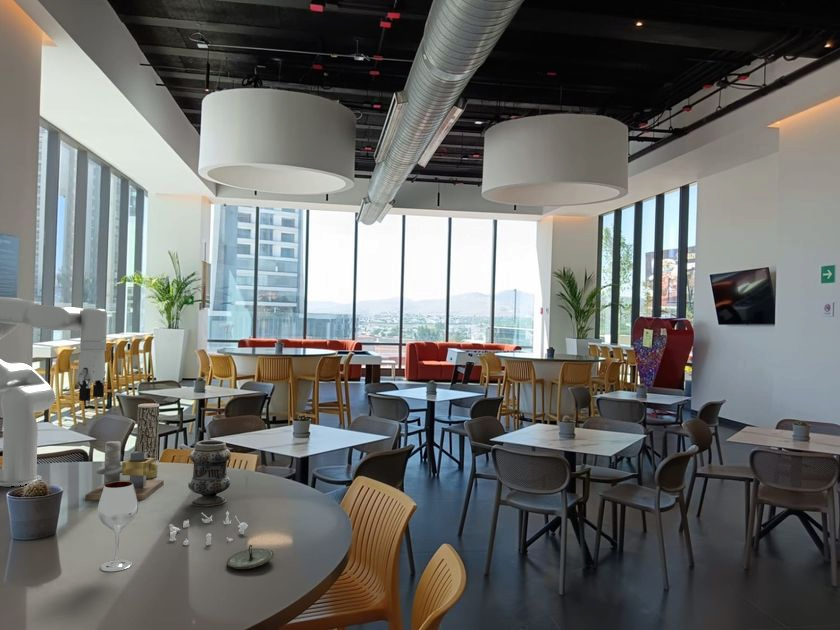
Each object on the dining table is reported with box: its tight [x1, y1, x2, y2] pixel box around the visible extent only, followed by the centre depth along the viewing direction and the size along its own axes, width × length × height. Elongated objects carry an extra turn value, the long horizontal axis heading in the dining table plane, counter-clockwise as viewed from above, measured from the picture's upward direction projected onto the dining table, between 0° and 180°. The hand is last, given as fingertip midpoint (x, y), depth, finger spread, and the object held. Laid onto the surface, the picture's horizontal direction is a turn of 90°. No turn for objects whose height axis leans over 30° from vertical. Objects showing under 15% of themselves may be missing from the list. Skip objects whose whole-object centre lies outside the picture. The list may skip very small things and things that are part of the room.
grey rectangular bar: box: [129, 450, 147, 489], centre depth 200 cm, size 4×3×11 cm
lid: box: [226, 544, 275, 570], centre depth 143 cm, size 11×10×5 cm
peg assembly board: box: [84, 440, 165, 501], centre depth 200 cm, size 18×18×16 cm
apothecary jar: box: [187, 439, 232, 508], centre depth 191 cm, size 12×12×18 cm
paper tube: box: [136, 402, 160, 480], centre depth 219 cm, size 7×7×25 cm
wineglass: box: [96, 481, 139, 573], centre depth 140 cm, size 8×8×18 cm
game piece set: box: [168, 510, 248, 546], centre depth 163 cm, size 19×20×4 cm
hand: (91, 398), depth 206 cm, fingers open, 9 cm apart
